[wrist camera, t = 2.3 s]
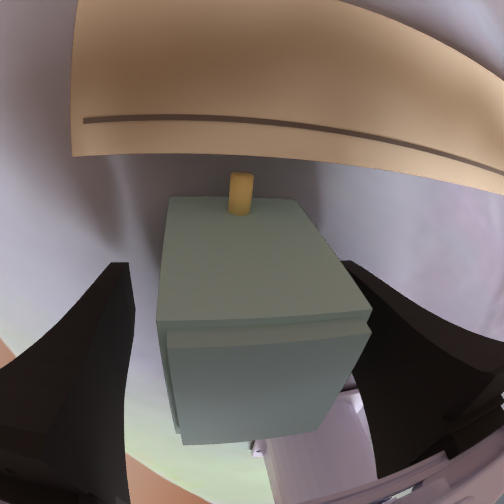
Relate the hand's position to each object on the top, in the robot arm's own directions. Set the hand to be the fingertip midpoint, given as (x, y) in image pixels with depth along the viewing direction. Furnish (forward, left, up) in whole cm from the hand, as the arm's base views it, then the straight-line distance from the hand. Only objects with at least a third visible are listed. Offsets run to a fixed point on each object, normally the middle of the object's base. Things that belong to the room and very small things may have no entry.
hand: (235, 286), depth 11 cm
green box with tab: (0, 0, -2) cm, 2 cm away
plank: (+7, -6, -2) cm, 9 cm away
